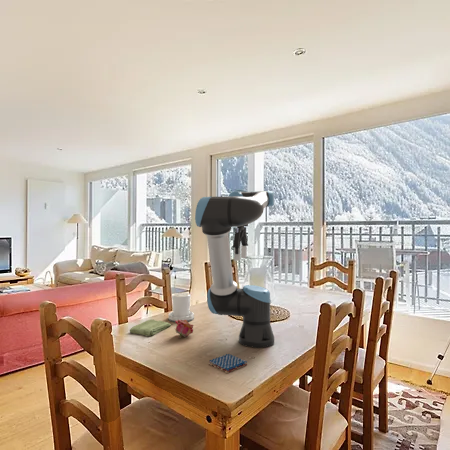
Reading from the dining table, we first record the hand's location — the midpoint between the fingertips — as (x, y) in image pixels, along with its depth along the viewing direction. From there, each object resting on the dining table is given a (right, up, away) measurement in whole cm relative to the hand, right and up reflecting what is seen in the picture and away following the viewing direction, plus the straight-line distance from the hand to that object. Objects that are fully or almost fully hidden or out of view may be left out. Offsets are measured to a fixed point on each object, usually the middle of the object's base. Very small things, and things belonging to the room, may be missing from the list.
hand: (240, 259), depth 175 cm
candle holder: (-31, -31, 0) cm, 44 cm away
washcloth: (-44, -32, -17) cm, 57 cm away
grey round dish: (-31, -32, 0) cm, 45 cm away
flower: (-26, -32, -27) cm, 50 cm away
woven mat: (-7, -33, -56) cm, 66 cm away
